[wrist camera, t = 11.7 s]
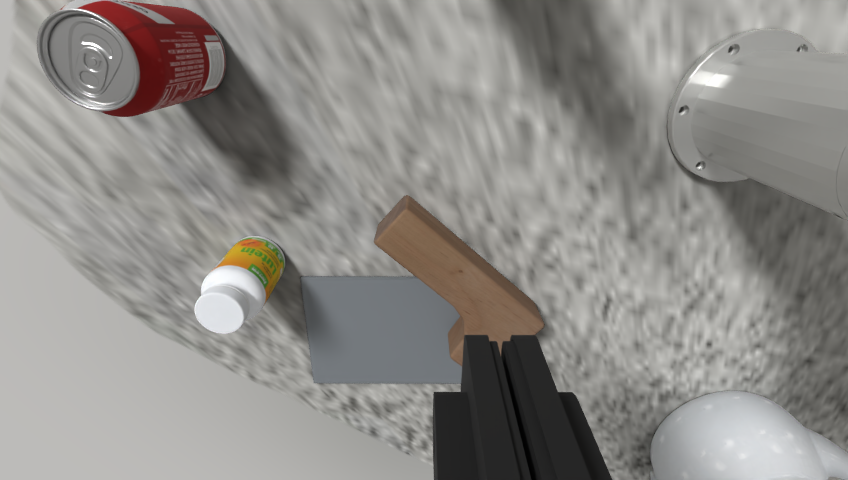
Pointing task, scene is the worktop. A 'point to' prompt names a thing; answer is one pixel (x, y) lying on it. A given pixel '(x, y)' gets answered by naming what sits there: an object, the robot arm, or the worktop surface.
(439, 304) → the rubber mat
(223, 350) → the worktop surface
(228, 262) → the supplement bottle
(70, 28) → the soda can
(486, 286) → the wooden block
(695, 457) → the teapot
